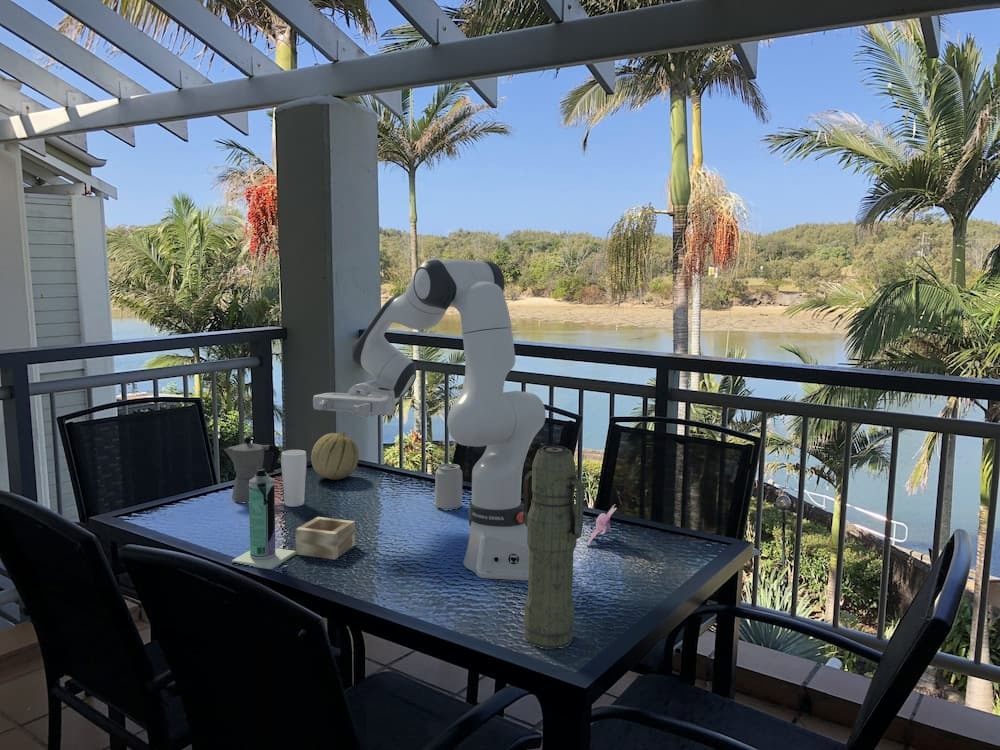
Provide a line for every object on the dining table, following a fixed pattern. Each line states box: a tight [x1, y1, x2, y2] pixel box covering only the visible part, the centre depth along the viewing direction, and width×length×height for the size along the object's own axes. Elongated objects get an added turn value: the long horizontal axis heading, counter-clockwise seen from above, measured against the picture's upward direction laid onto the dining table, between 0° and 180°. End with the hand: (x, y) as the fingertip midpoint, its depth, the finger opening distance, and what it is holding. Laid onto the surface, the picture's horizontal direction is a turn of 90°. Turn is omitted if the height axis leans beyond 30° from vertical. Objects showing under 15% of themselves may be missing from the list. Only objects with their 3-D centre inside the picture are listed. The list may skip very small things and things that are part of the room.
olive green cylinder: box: [523, 445, 585, 648], centre depth 140 cm, size 9×12×35 cm
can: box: [434, 463, 463, 510], centre depth 220 cm, size 8×8×12 cm
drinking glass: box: [280, 449, 307, 508], centre depth 219 cm, size 7×7×15 cm
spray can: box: [248, 468, 276, 560], centre depth 177 cm, size 6×6×20 cm
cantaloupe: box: [310, 431, 360, 481], centre depth 248 cm, size 15×15×15 cm
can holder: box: [295, 516, 356, 561], centre depth 185 cm, size 10×10×6 cm
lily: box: [587, 504, 619, 546], centre depth 194 cm, size 12×12×10 cm
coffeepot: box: [223, 436, 281, 504], centre depth 224 cm, size 15×9×18 cm, turn 100°
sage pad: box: [231, 547, 297, 570], centre depth 179 cm, size 10×10×1 cm
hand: (338, 408), depth 191 cm, fingers open, 8 cm apart
